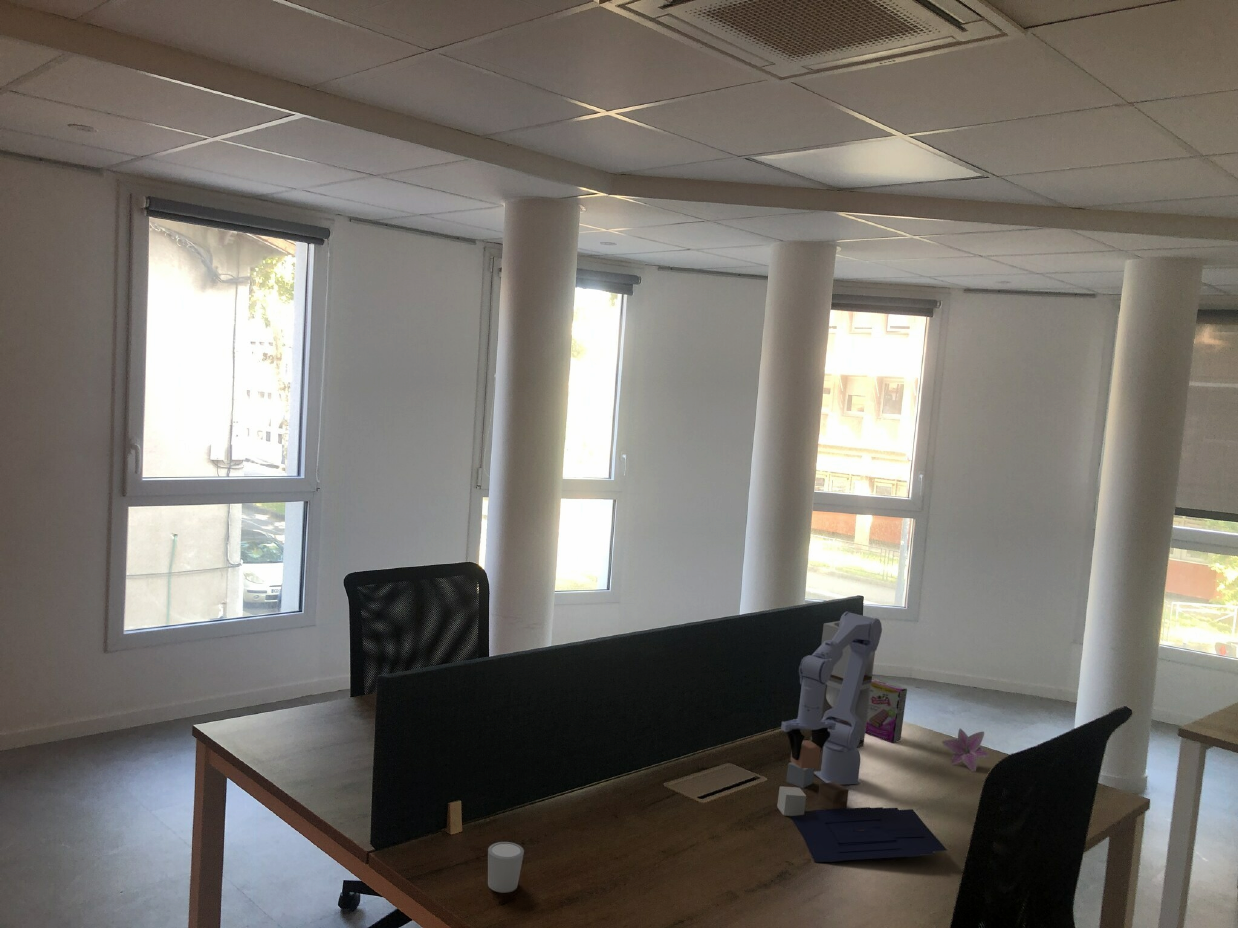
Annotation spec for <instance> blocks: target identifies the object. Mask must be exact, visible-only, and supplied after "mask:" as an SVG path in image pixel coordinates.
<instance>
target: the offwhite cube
mask: <svg viewBox="0 0 1238 928" xmlns="http://www.w3.org/2000/svg"><path fill="white" fill-rule="evenodd" d="M806 801H807V795H806V794H805V792H804V791H803V790H802V789H801V787H798V786H797V787H793V786H782V785H781V786H779V790H778V798H777V804H776V806H777V808H778V810H779V811H780V813H781V814H782V815H783V816H786V817H787V816H788V817H790V816H796V815H804V811H806V810H805V808H806Z"/></svg>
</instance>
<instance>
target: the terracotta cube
mask: <svg viewBox="0 0 1238 928" xmlns="http://www.w3.org/2000/svg"><path fill="white" fill-rule="evenodd" d="M820 750H821V751H822V749H821V748H820V747H819V746H817V745H816V744H814V743H813V742H812V741H811V740H810V739H809V740H805V739H804V740H803V742H802V745H801V750H800V757H799V760H795V759H794V758H792V751H791V753H790V759H789V761H790V762H793V763H794V764H796V765H797V766H798V767H800V768H801V769H802V768H814V769H815V768H819V764H820V758H821V757H820V756H821V752H820Z"/></svg>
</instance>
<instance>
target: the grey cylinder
mask: <svg viewBox="0 0 1238 928" xmlns="http://www.w3.org/2000/svg"><path fill="white" fill-rule="evenodd" d="M524 852H525V850H524V848H523V847H522V846H521V845H520V844H518V843H515V842H511V841H510V842H509V841H499V842H495V843H492V844H491V845H489V847H488V848H487V886H488V888H489V889H491V890H492V891H494V892H497V893H503V894H504V893H511V892H514V891H515V890H517V888H518V885H519V884H518V883H519V880H520V876H521V869H522V863H523V859H524Z"/></svg>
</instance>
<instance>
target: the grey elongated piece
mask: <svg viewBox="0 0 1238 928" xmlns="http://www.w3.org/2000/svg"><path fill="white" fill-rule="evenodd" d="M839 622H840V620H838V621H832V622H825V623H823V628H822V635H821V637H822V638H821V644H820V646H821V645H822V644H823V642H825V641H826V640H832V638H833V637H834V636H835V634H836V633H837V631H838V630H839ZM850 653H851V648H850V646H849V645H847V646H846V647H845V648H844V649H843V656H842V657H841V659H840V660H839V661H838V662H837V663H836V664H835V665H834V667H833V671H832V673H831V676H830V678H829V680H828V681H827V682H826V685H825V693H824V702H823V710H822V719H823V717H824V714H825V712H826V711H828V710H830V709H832V708H835V707H836V704H837V701H838V697H839V693H840V690H841V686H842V682H843V679H844V675H845V671H846V668H847V664H848V661H849V657H850ZM875 655H876V651H872V652H871V653H870V656H869V660H868V663H867V667H866V671H865V674H864V678H863V682H862V685H861V689H860V693H859V696H858V700H857V704H856V708H855V711H854V712H855V714H856V716H857V717H858V718H859V720H860V721H861V723H862V727H861V737H860V742H859V744H858V746H857V747H856V748H857V749H860V748H863V747H864V745H865V737H866V733H865V730H866V722H867V714H868V706H869V697H870V689H871V681H872V679H873V673H874V672H873V671H874V663H875ZM834 720H837V721H840V722H843V723H847V724H850V725H851V723H849V722H846V721H843V720H840V719H834ZM809 740H810V741H811V742H812V732H811V733H810V737H809Z"/></svg>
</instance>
